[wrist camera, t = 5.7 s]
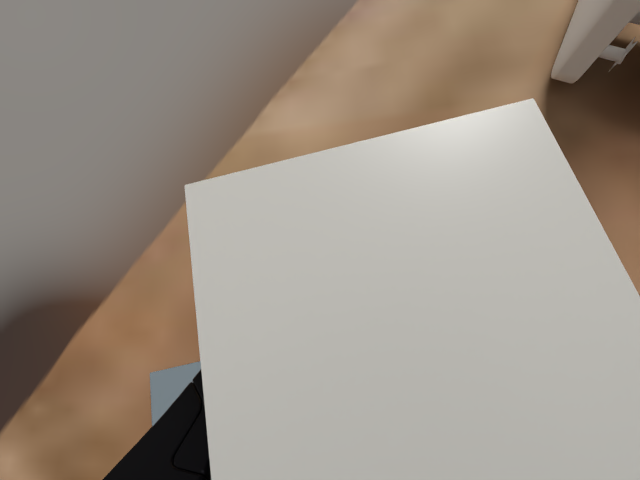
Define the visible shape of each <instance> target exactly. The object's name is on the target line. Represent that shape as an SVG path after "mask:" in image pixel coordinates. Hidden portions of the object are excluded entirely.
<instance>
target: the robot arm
mask: <svg viewBox="0 0 640 480" xmlns="http://www.w3.org/2000/svg"><path fill="white" fill-rule="evenodd" d="M192 381H193V382H190V383H189V384H188V385H187V387H186V388H185V389H184V390H183V392H182V393H181V394H180V395H179V396H178V398H177V399H176V400H175V401H174V402H173V404H172V405H171V406H170V407H169V408H168V409H167V411H166V412H165V413H164V414H163V415H162V416H161V418H160V419H159V420H158V421H157V422H156V423H155V424H154V425H153V426H152V427H151V428H150V430H149V431H148V432H147V433H146V434H145V435H144V436H143V437H142V438H141V439H140V441H139V442H138V443H137V444H136V445H135V446H134V447H133V448H132V449H131V450H130V451H129V452H128V453H127V454H126V455H125V456H124V457H123V459H122V460H121V461H120V462H119V463H118V464H117V465H116V466H115V467H114V468H113V469H112V470H111V471H110V472H109V473H108V474H107V476H106V477H105V478H104V479H103V480H211V471H210V460H209V449H208V438H207V427H206V416H205V405H204V394H203V383H202V372H201V370H200V371H199V372H198V373H197V375H196V376H195V377H194V378H193V380H192Z"/></svg>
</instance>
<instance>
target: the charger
mask: <svg viewBox="0 0 640 480" xmlns="http://www.w3.org/2000/svg"><path fill="white" fill-rule="evenodd" d="M185 196H186V207H187V218H188V229H189V240H190V251H191V262H192V273H193V284H194V295H195V306H196V317H197V328H198V339H199V350H200V361H201V372H202V383H203V394H204V405H205V416H206V427H207V438H208V449H209V460H210V471H211V480H640V296H639V294H638V292H637V291H636V289H635V287H634V285H633V283H632V281H631V279H630V278H629V276H628V274H627V272H626V270H625V268H624V266H623V265H622V263H621V261H620V259H619V257H618V255H617V253H616V251H615V250H614V248H613V246H612V244H611V242H610V240H609V238H608V237H607V235H606V233H605V231H604V229H603V227H602V225H601V223H600V222H599V220H598V218H597V216H596V214H595V212H594V210H593V209H592V207H591V205H590V203H589V201H588V199H587V197H586V195H585V194H584V192H583V190H582V188H581V186H580V184H579V182H578V181H577V179H576V177H575V175H574V173H573V171H572V169H571V167H570V166H569V164H568V162H567V160H566V158H565V156H564V154H563V153H562V151H561V149H560V147H559V145H558V143H557V141H556V139H555V138H554V136H553V134H552V132H551V130H550V128H549V126H548V125H547V123H546V121H545V119H544V117H543V115H542V113H541V111H540V110H539V108H538V106H537V104H536V102H535V100H534V98H533V99H529V100H525V101H521V102H517V103H513V104H509V105H505V106H501V107H497V108H493V109H488V110H484V111H480V112H476V113H472V114H468V115H464V116H460V117H456V118H452V119H448V120H444V121H440V122H436V123H432V124H428V125H424V126H420V127H416V128H412V129H408V130H404V131H400V132H396V133H392V134H388V135H384V136H380V137H376V138H372V139H368V140H364V141H360V142H356V143H352V144H348V145H344V146H340V147H336V148H332V149H328V150H324V151H320V152H316V153H312V154H308V155H304V156H300V157H296V158H292V159H288V160H284V161H280V162H276V163H272V164H268V165H264V166H260V167H256V168H252V169H248V170H244V171H240V172H236V173H232V174H228V175H224V176H219V177H215V178H211V179H207V180H203V181H199V182H195V183H191V184H187V185H185Z"/></svg>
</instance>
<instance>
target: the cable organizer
mask: <svg viewBox="0 0 640 480" xmlns="http://www.w3.org/2000/svg"><path fill="white" fill-rule="evenodd" d="M628 23H633V24H638V25H640V0H578V3H577V6H576V8H575V11H574V13H573V16H572V19H571V21H570V24H569V26H568V29H567V32H566V34H565V37H564V39H563V42H562V45H561V47H560V50H559V52H558V55H557V58H556V60H555V63H554V65H553V68H552V72H551V78H553V79H556V80H560V81H563V82H567V83H571V84H572V83H574V82H576V81H577V80H578V79H579V78H580V77H581V76H582V75H583V74H584V73H585V72H586V71H587V69H588V68H589V67H590V66H591V65H592V64H593V63H594V61H595V60H596V59H597V58H598V57H599V58H603V59H607V60H611V61H615V63H614V65H613V66H612V68H613V67H614V66H615V65H616V64H619V65H620V64H621V62H622V61H623V59H624V58H625V56H626V55H627V54H628V52H629V51H630V50H631V49H632V48H633V47H634V45H635V44H636V43H637V42H638V41H637V42H635V43H634V44H632V43H633V41H634V39H635V37H636V36H635V37H634V39H633V40H632V41H631V42H630V44H629V45H628V46H627V47H626V49H624V48H620V47H616V46H611V45H609V44H610V43H611V42H612V41H613V40H614V39H615V37H616V36H617V35H618V34H619V33H620V32H621V31H622V29H623V28H624V27H625V26H626V25H627V24H628ZM612 68H611V69H612ZM611 69H610V70H611ZM610 70H609V71H610Z"/></svg>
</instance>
